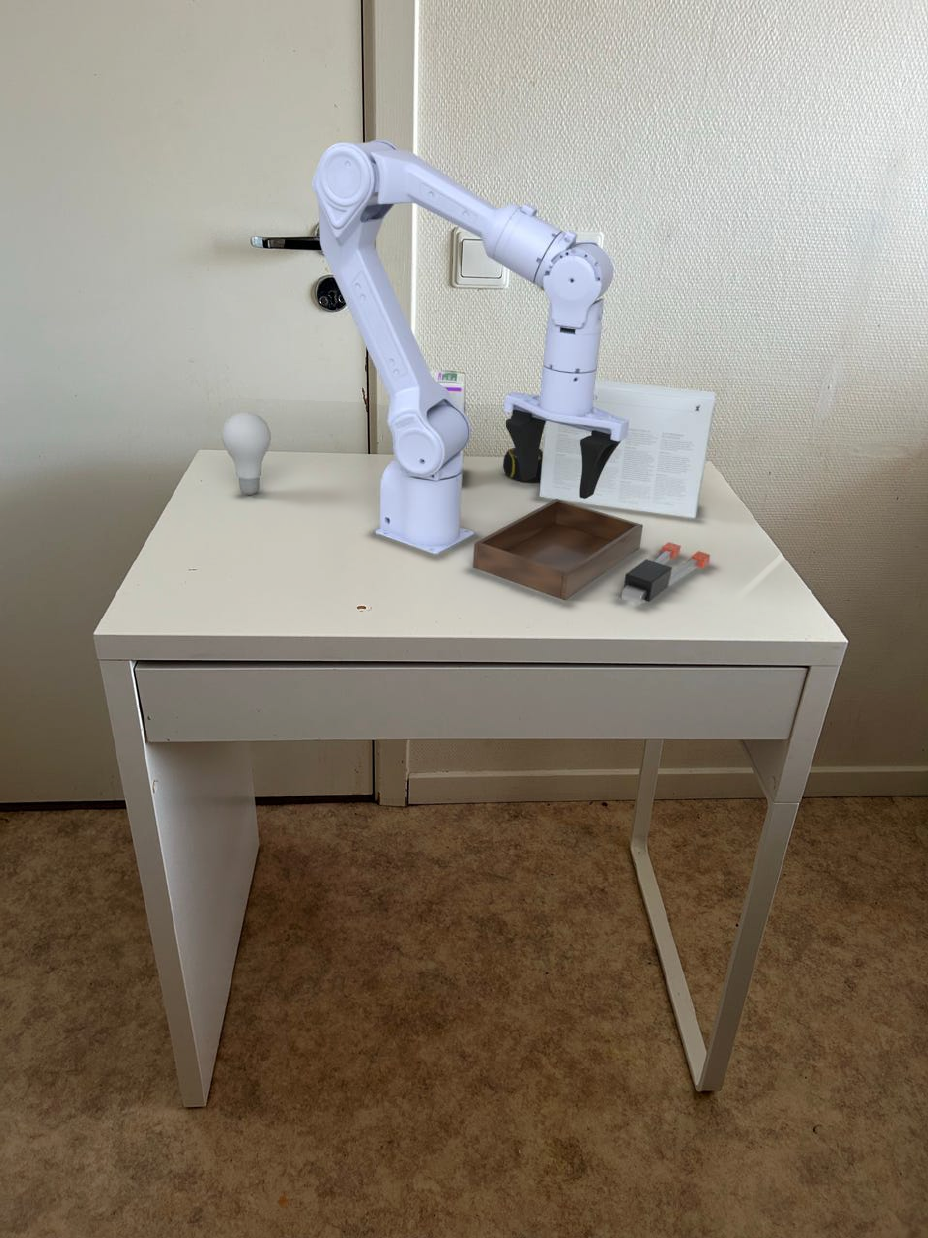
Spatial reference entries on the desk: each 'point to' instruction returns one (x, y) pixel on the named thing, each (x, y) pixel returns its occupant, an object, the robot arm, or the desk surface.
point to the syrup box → (453, 389)
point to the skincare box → (638, 450)
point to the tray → (557, 548)
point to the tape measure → (513, 467)
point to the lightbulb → (247, 447)
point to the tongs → (658, 574)
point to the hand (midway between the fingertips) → (557, 487)
